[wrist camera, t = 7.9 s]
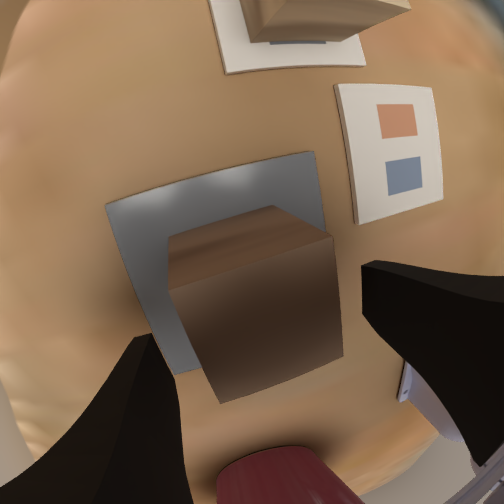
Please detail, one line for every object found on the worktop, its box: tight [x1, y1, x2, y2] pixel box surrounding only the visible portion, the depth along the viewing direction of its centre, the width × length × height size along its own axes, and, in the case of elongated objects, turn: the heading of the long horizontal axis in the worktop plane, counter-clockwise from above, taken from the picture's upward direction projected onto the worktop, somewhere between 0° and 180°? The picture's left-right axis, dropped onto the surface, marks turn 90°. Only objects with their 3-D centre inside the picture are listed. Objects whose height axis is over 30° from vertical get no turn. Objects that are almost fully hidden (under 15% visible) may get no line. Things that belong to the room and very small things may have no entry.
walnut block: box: [168, 205, 343, 404], centre depth 10 cm, size 4×4×5 cm
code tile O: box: [208, 0, 366, 75], centre depth 10 cm, size 7×7×1 cm
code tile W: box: [334, 84, 443, 225], centre depth 13 cm, size 7×7×1 cm
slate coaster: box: [105, 151, 326, 375], centre depth 13 cm, size 9×9×1 cm
